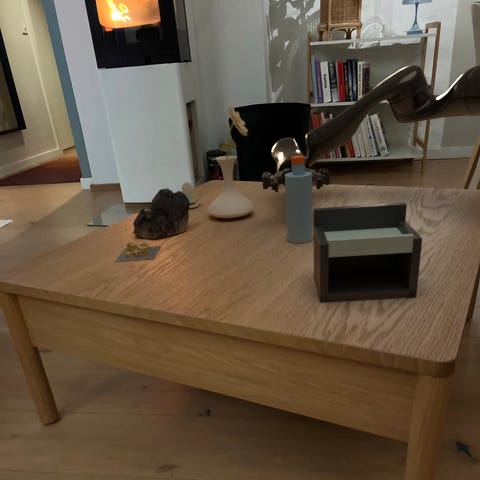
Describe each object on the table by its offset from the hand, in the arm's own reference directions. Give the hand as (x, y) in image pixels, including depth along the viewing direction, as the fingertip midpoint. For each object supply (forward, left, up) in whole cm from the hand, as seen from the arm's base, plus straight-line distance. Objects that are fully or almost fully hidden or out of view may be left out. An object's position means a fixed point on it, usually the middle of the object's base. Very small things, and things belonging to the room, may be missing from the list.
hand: (297, 185), depth 96 cm
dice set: (+33, +7, -10) cm, 35 cm away
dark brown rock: (+31, -8, -10) cm, 34 cm away
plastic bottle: (0, +4, -10) cm, 11 cm away
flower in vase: (+15, -18, -10) cm, 26 cm away
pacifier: (+28, -29, -10) cm, 42 cm away
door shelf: (-8, +29, -10) cm, 31 cm away
